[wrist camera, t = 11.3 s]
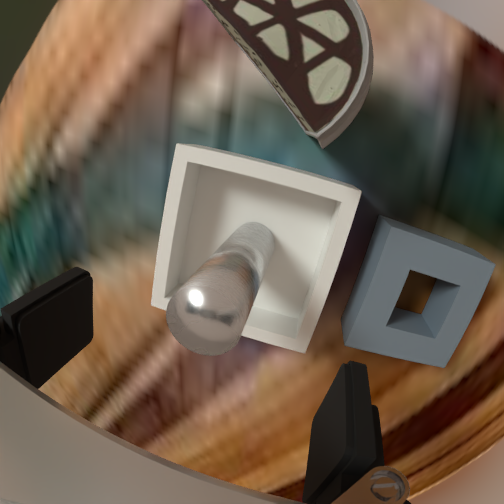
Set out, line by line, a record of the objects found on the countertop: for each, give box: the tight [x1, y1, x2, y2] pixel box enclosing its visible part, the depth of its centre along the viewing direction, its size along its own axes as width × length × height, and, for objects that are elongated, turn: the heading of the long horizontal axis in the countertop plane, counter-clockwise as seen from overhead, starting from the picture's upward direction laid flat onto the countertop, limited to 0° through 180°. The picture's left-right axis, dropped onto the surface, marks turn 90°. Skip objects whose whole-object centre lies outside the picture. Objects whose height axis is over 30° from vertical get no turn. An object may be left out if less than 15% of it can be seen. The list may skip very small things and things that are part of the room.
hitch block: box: [341, 215, 495, 368], centre depth 22 cm, size 9×9×4 cm
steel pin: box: [166, 222, 275, 356], centre depth 18 cm, size 3×3×12 cm
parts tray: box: [151, 144, 362, 353], centre depth 23 cm, size 12×12×4 cm
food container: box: [202, 0, 373, 149], centre depth 16 cm, size 12×6×10 cm, turn 35°
